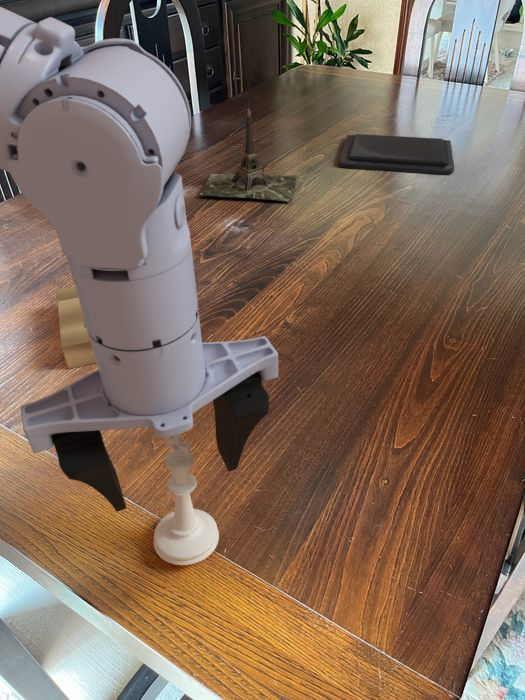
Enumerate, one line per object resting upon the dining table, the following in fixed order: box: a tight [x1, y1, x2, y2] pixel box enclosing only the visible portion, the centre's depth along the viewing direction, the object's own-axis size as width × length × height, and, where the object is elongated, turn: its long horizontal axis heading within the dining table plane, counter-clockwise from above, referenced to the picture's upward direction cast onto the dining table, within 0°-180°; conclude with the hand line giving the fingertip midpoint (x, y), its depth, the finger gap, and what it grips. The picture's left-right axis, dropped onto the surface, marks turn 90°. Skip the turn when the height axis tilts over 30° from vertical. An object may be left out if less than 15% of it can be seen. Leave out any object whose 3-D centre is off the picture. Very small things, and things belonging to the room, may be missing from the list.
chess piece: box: [153, 433, 220, 566], centre depth 40 cm, size 5×5×10 cm
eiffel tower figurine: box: [199, 102, 298, 203], centre depth 87 cm, size 15×10×13 cm
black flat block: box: [337, 133, 455, 176], centre depth 100 cm, size 20×2×15 cm
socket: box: [55, 285, 97, 370], centre depth 62 cm, size 11×11×3 cm
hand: (174, 478), depth 37 cm, fingers open, 7 cm apart
